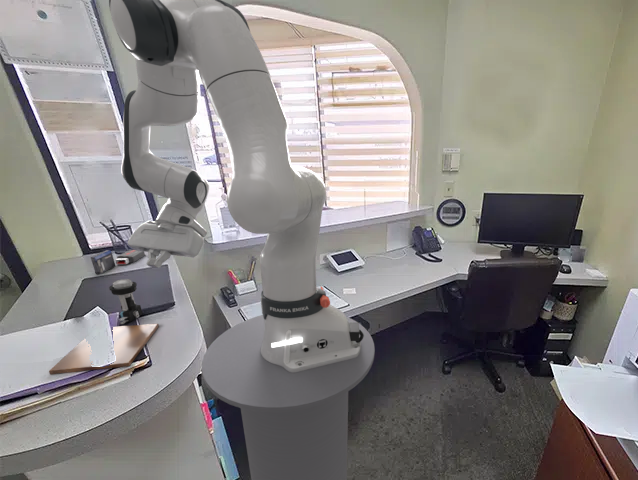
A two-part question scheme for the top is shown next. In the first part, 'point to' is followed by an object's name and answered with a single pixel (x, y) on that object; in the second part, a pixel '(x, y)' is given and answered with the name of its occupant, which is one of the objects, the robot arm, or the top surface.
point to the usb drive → (129, 257)
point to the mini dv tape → (103, 261)
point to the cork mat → (125, 348)
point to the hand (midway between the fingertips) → (152, 266)
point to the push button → (126, 299)
